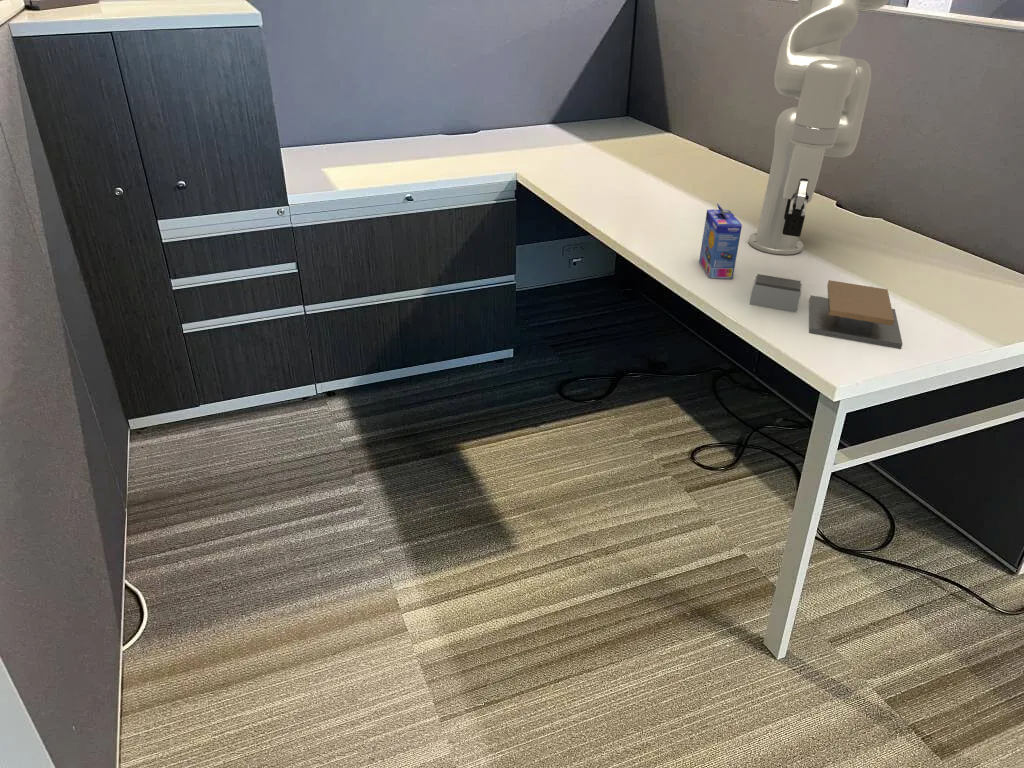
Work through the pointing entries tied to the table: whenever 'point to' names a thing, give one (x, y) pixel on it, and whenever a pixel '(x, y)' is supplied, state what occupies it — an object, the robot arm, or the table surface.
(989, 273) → the table surface
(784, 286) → the block
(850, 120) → the robot arm
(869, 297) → the cardboard on grey plate
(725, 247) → the ink cartridge box
